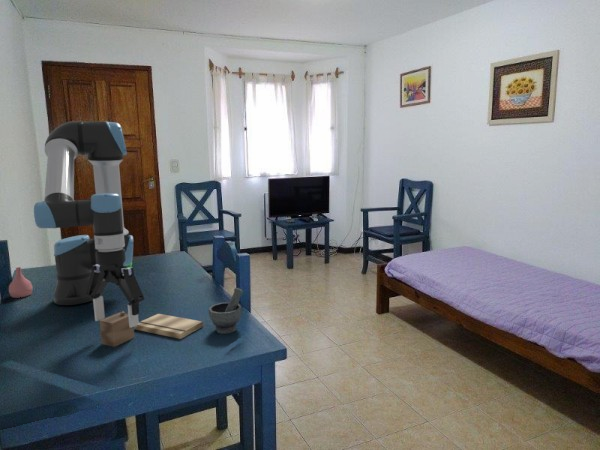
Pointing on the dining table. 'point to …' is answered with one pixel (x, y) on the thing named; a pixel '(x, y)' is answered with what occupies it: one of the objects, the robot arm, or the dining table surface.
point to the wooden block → (116, 329)
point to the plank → (169, 325)
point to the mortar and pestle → (227, 313)
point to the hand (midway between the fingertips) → (116, 322)
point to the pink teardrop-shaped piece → (20, 285)
